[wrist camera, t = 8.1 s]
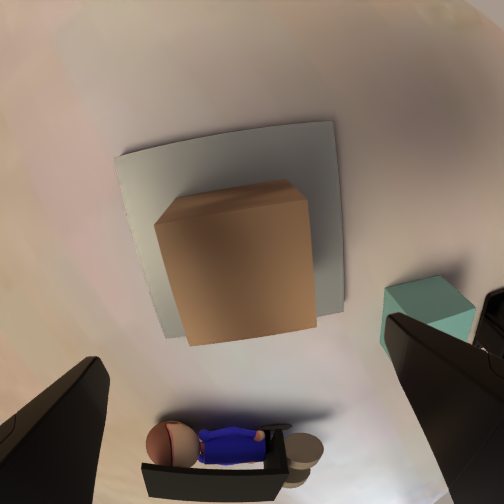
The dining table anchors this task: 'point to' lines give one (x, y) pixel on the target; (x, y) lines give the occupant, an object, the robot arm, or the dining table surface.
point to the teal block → (430, 306)
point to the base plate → (233, 175)
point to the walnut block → (240, 262)
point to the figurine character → (226, 462)
